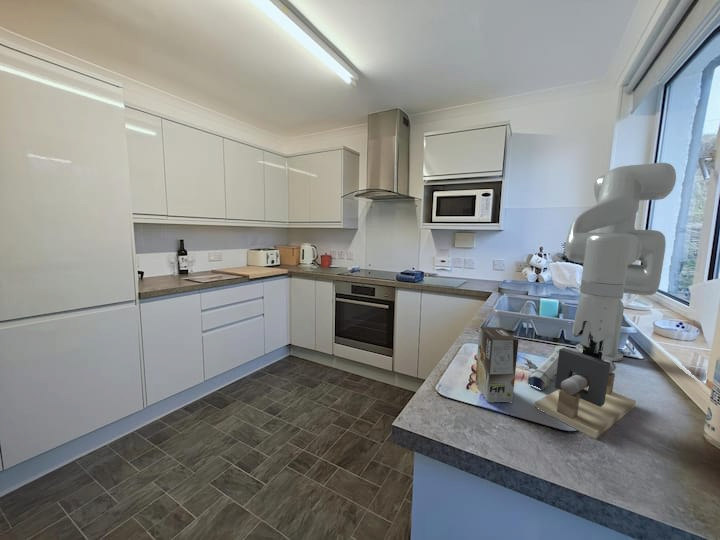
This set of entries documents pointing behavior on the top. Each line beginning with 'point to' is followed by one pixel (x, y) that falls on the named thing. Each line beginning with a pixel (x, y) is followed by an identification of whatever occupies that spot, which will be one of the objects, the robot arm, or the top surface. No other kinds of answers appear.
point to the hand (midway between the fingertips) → (590, 366)
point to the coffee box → (496, 364)
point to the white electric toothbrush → (545, 370)
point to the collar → (587, 367)
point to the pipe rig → (586, 405)
